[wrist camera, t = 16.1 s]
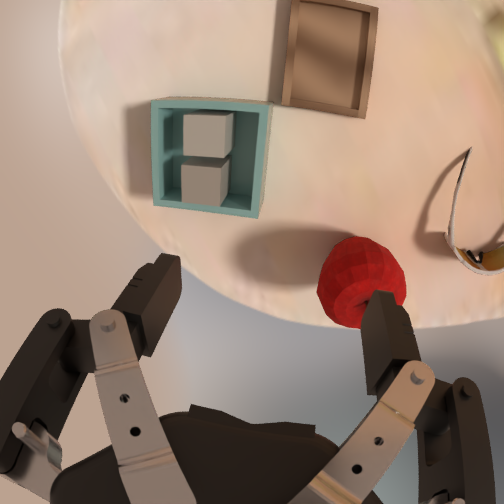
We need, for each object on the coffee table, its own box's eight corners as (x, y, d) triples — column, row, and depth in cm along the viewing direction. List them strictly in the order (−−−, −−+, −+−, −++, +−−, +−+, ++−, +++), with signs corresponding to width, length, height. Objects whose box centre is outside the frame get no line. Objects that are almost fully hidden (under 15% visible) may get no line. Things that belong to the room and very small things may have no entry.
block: (197, 152, 33) (181, 164, 28) (232, 155, 32) (221, 168, 28) (196, 185, 35) (181, 202, 31) (230, 189, 34) (219, 206, 30)
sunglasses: (428, 255, 36) (442, 272, 31) (448, 141, 29) (468, 145, 25) (502, 263, 34) (519, 278, 29) (524, 164, 28) (545, 171, 23)
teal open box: (168, 96, 30) (151, 100, 26) (273, 102, 29) (269, 105, 25) (169, 190, 36) (153, 205, 33) (263, 202, 35) (257, 218, 32)
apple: (302, 266, 39) (300, 327, 30) (342, 206, 34) (355, 257, 25) (364, 295, 40) (375, 356, 31) (406, 243, 35) (432, 299, 26)
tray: (292, -5, 22) (292, -8, 21) (375, 10, 22) (378, 7, 21) (281, 104, 29) (281, 104, 28) (362, 117, 28) (365, 119, 27)
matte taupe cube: (200, 109, 30) (183, 114, 26) (236, 110, 30) (225, 116, 25) (199, 144, 32) (183, 155, 28) (234, 146, 32) (224, 157, 28)
